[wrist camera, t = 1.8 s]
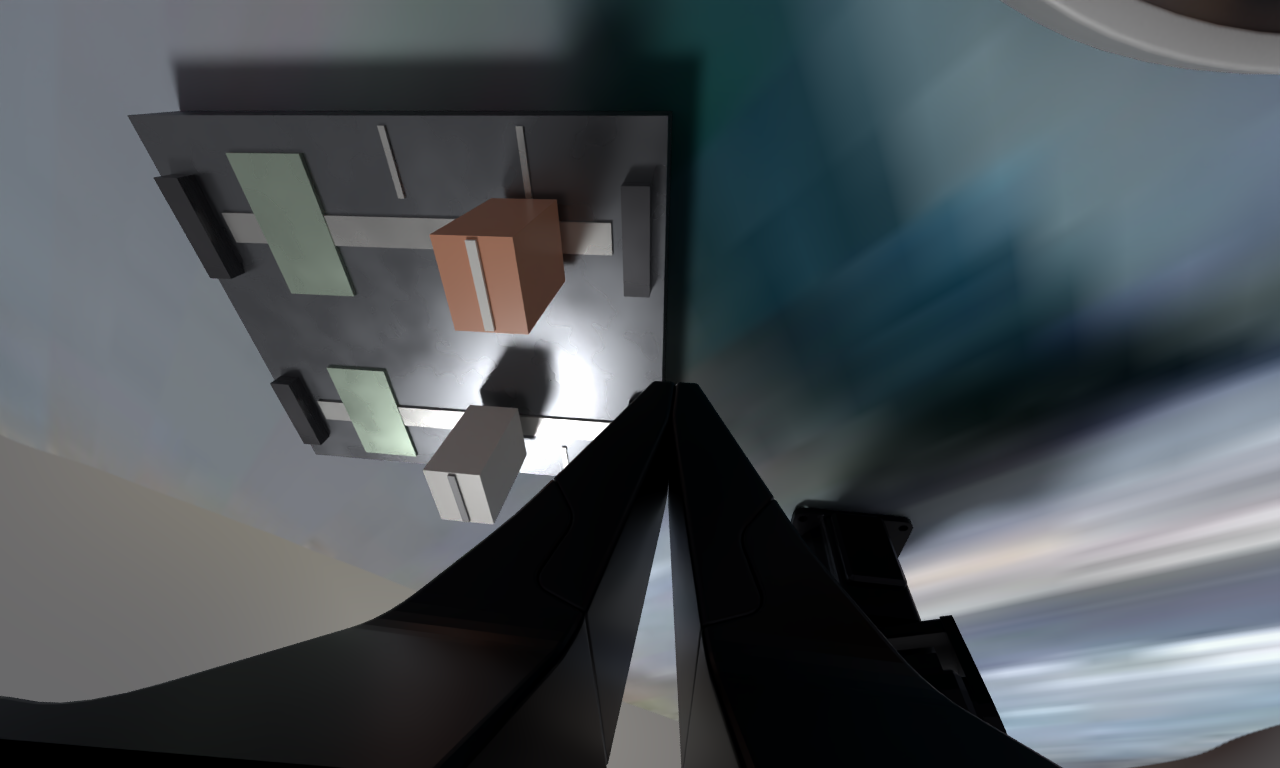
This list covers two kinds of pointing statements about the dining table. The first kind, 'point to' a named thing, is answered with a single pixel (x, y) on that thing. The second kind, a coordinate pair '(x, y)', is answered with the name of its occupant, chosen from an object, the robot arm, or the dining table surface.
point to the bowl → (1170, 30)
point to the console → (426, 264)
